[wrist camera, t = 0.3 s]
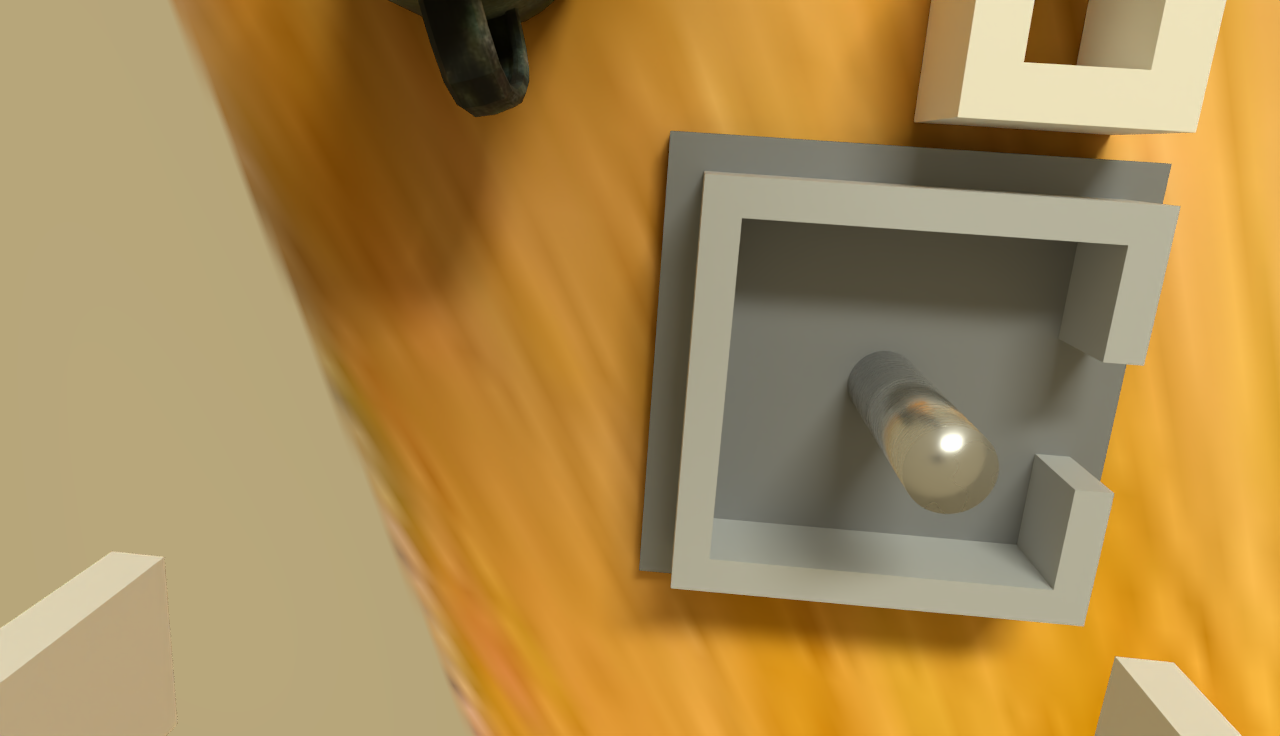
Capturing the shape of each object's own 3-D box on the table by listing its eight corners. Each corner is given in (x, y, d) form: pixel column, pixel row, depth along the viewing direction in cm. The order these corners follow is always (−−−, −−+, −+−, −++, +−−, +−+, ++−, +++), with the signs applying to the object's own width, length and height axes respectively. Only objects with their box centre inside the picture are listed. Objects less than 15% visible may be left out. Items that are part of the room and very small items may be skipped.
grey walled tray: (671, 131, 35) (666, 128, 30) (1155, 163, 34) (1234, 166, 29) (640, 558, 40) (632, 616, 35) (1060, 596, 39) (1113, 661, 34)
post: (852, 348, 36) (909, 422, 26) (923, 353, 36) (1006, 430, 26) (843, 414, 37) (896, 510, 27) (912, 419, 36) (990, 517, 27)
